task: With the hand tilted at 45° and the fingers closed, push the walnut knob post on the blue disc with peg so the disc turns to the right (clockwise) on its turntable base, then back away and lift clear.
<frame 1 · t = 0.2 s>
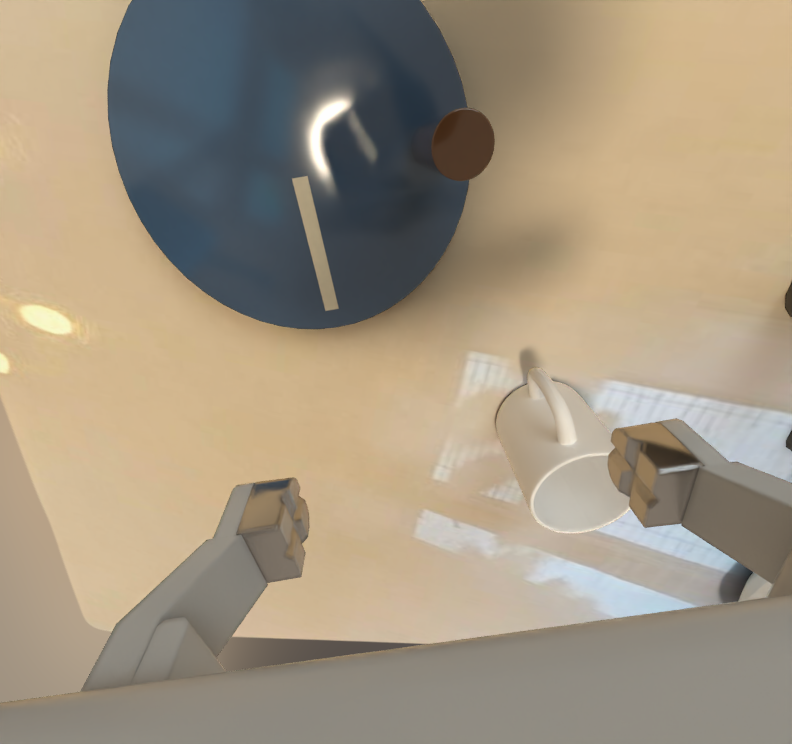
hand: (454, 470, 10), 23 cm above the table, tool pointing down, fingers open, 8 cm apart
bowl: (789, 568, 53), on the table
blue disc with peg: (283, 172, 21), point 6 cm above the table, hinge at 0.0°
cup: (532, 398, 37), on the table
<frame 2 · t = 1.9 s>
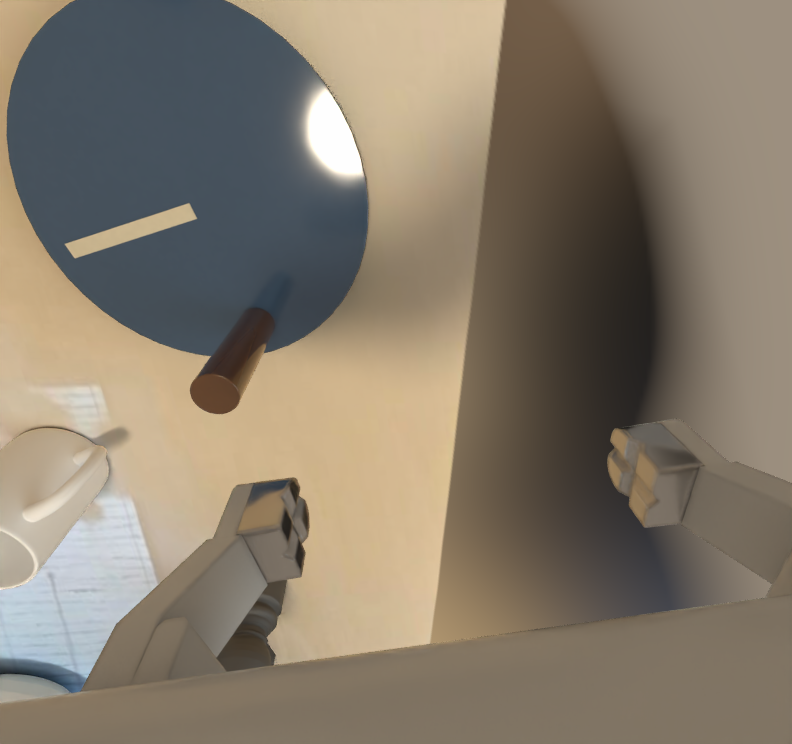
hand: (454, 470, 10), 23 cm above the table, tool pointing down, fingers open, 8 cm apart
bowl: (28, 688, 57), on the table
blue disc with peg: (171, 219, 22), point 6 cm above the table, hinge at 0.0°
candle holder: (261, 579, 49), on the table
cup: (80, 450, 38), on the table
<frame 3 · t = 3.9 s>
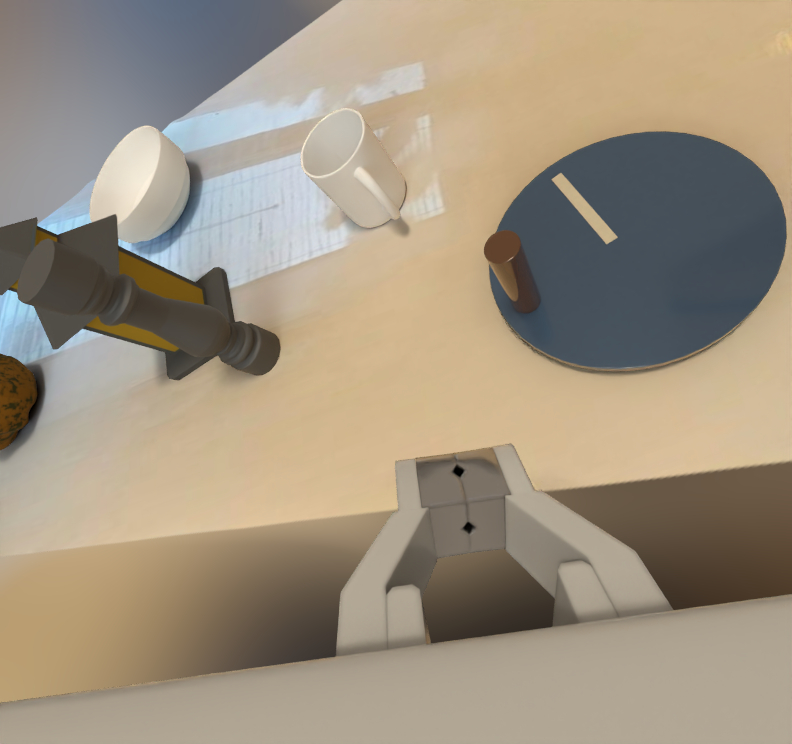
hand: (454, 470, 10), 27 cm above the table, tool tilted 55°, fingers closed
bowl: (171, 207, 75), on the table
decorative pumpkin: (24, 408, 83), on the table
blue disc with peg: (616, 215, 31), point 6 cm above the table, hinge at 0.0°
lantern: (200, 324, 62), on the table
candle holder: (263, 353, 54), on the table
cup: (386, 208, 50), on the table
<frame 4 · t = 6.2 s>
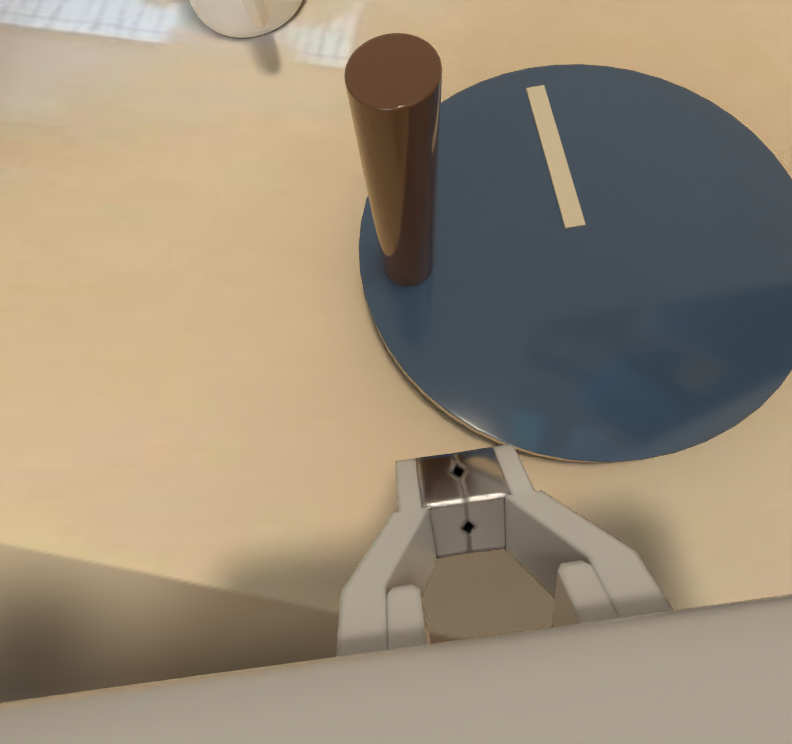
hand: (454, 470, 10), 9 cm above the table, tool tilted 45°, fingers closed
blue disc with peg: (619, 169, 16), point 6 cm above the table, hinge at 0.0°
cup: (259, 17, 28), on the table
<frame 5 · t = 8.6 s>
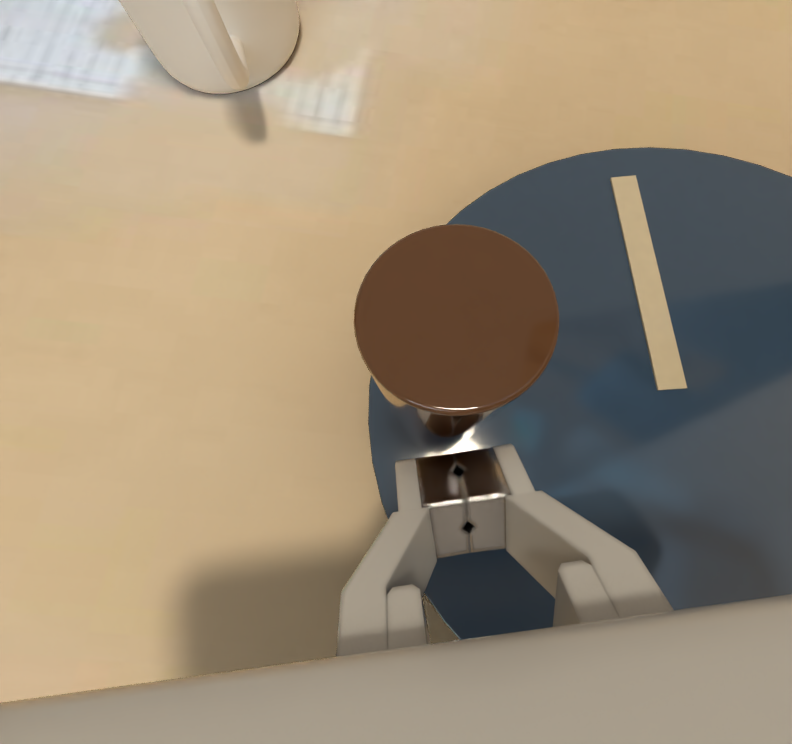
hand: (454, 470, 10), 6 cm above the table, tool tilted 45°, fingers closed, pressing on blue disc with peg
blue disc with peg: (784, 372, 10), point 6 cm above the table, hinge at -4.6°, touching gripper
cup: (241, 67, 22), on the table
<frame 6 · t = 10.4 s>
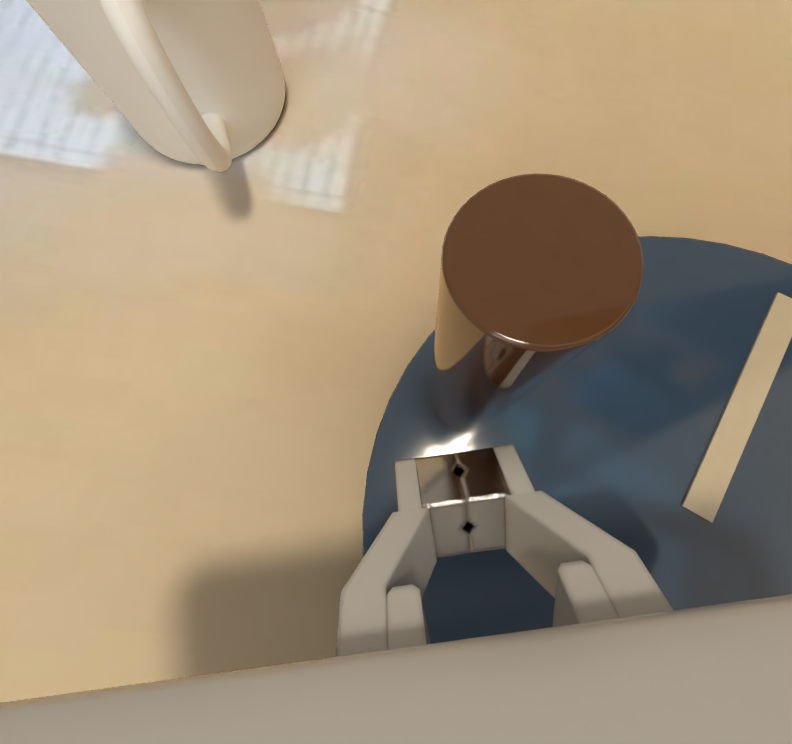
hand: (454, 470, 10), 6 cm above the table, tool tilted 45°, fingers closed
cup: (224, 134, 21), on the table
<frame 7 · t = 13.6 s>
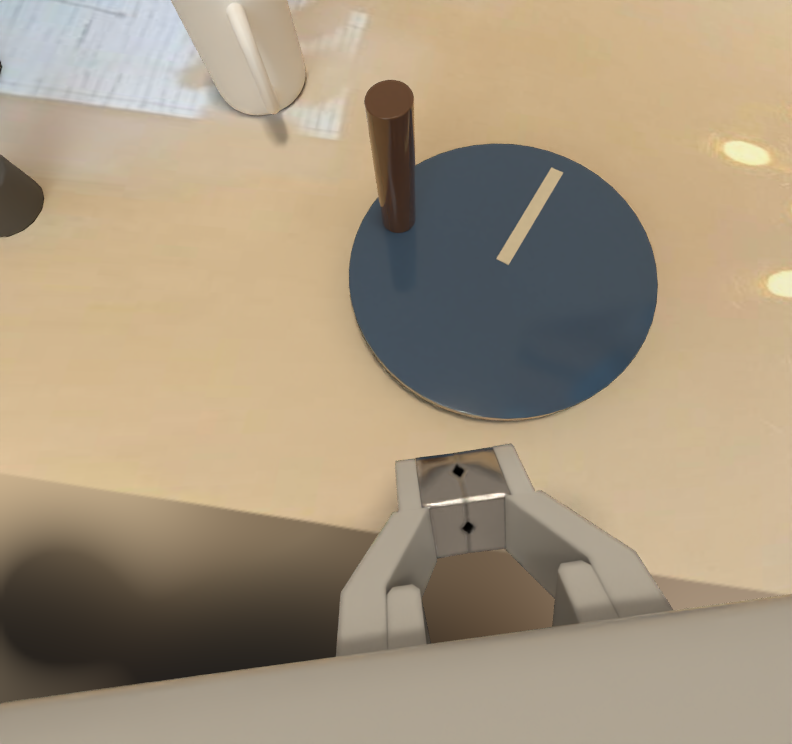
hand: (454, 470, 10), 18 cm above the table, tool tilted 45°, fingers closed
blue disc with peg: (512, 230, 25), point 6 cm above the table, hinge at -40.4°
candle holder: (12, 207, 36), on the table
cup: (270, 98, 37), on the table
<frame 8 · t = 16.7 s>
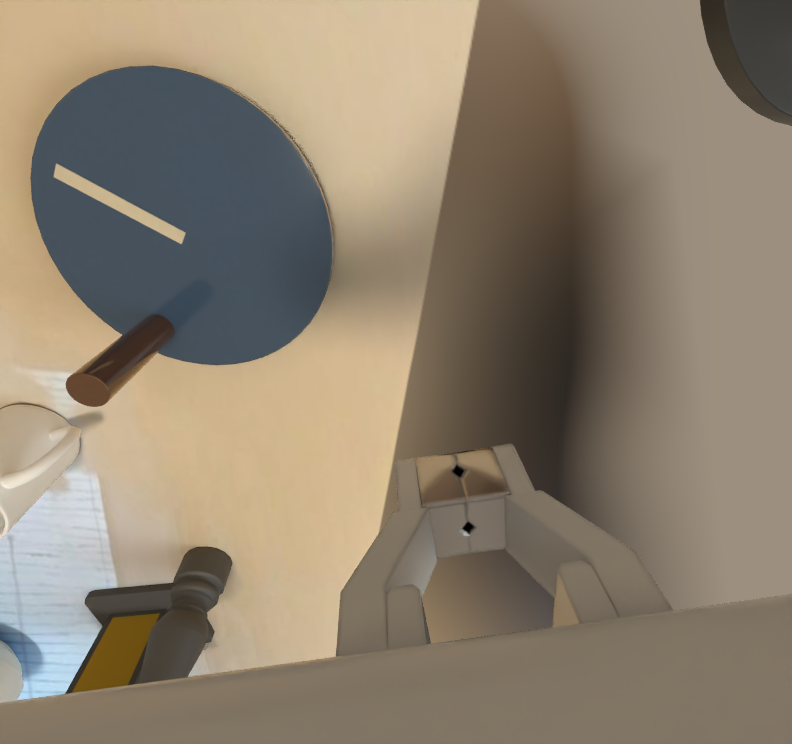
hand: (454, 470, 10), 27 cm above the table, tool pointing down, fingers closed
blue disc with peg: (164, 256, 27), point 6 cm above the table, hinge at -40.4°
lantern: (155, 613, 59), on the table
candle holder: (208, 560, 53), on the table
cup: (55, 428, 42), on the table
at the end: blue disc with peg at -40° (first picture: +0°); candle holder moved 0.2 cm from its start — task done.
